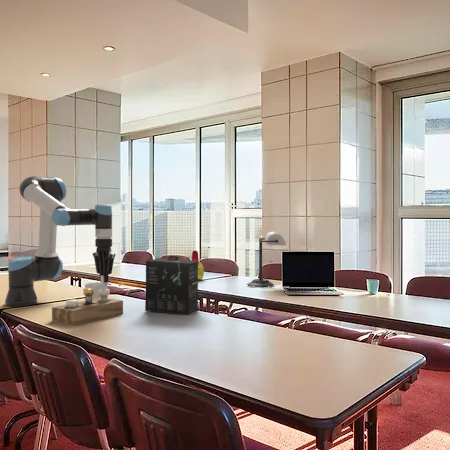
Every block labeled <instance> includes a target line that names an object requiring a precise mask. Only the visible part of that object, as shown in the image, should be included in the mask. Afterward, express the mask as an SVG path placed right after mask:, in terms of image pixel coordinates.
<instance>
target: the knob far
mask: <svg viewBox="0 0 450 450" xmlns="http://www.w3.org/2000/svg"><path fill="white" fill-rule="evenodd" d="M99 296H101V302H106V301H108V298H109V297H108V296H110V288H108V289H105V290H101V289H100V290H99Z"/></svg>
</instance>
